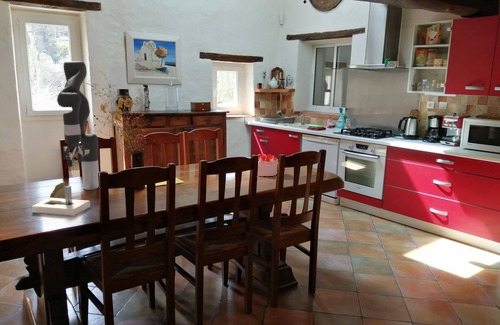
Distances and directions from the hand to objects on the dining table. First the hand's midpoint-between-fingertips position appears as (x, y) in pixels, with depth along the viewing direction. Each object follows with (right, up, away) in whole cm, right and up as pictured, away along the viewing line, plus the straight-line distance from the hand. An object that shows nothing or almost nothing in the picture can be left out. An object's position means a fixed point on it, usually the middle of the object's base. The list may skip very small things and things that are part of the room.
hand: (75, 164), depth 194 cm
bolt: (-2, -23, -3) cm, 23 cm away
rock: (-15, -20, +14) cm, 29 cm away
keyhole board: (-6, -23, -2) cm, 24 cm away
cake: (+100, -8, +85) cm, 131 cm away
